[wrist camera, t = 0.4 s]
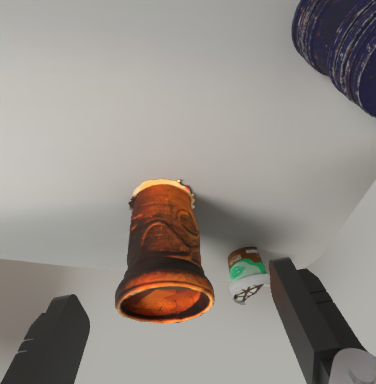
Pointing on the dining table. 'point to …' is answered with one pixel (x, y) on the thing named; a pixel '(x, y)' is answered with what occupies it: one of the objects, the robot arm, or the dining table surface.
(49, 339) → the robot arm
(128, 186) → the dining table surface
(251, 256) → the food container
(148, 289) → the vessel
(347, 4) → the storage jar
